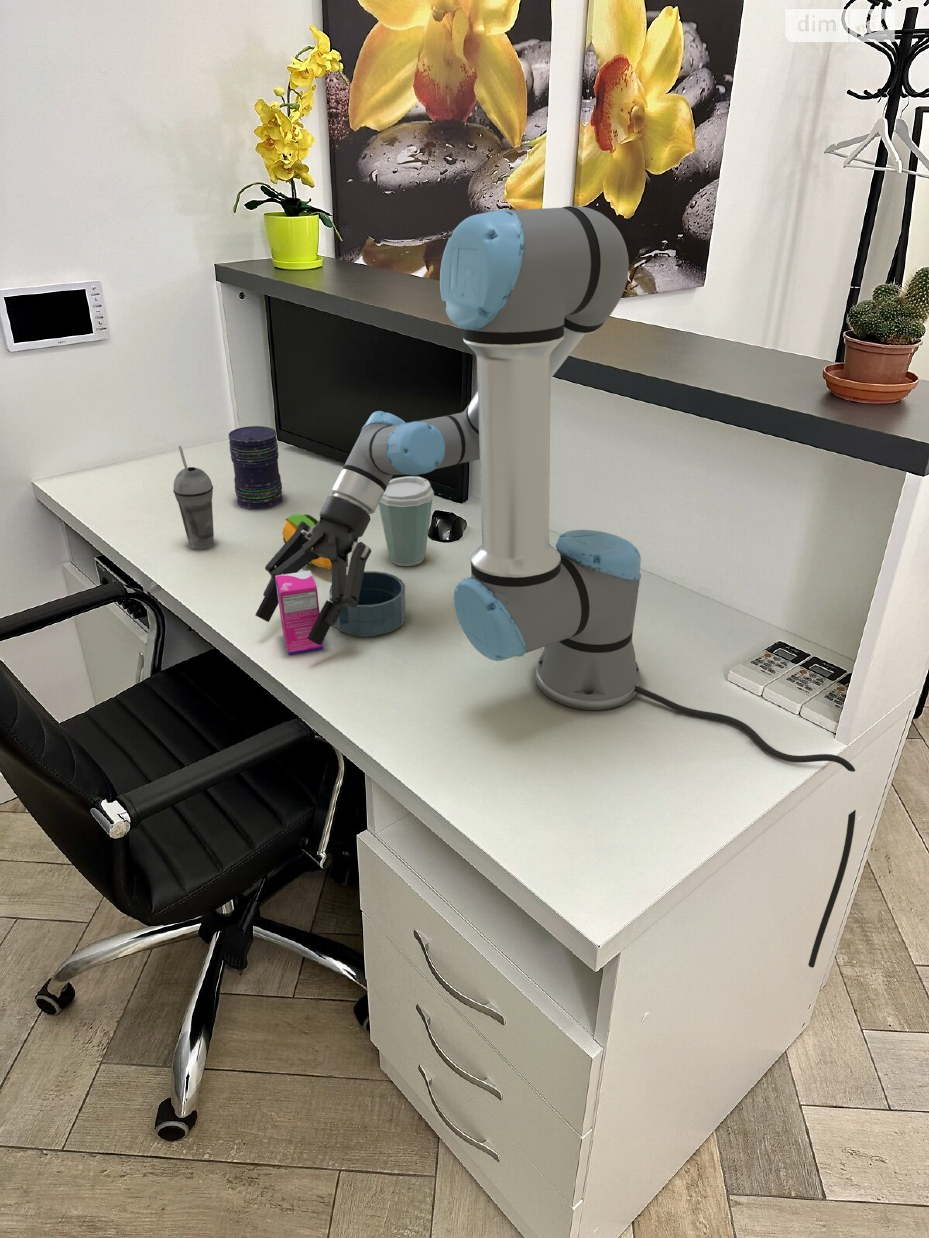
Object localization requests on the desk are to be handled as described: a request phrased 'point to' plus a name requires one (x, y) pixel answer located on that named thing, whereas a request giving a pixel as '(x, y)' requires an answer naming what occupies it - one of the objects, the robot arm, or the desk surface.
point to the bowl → (375, 606)
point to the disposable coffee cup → (406, 518)
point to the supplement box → (298, 610)
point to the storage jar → (256, 467)
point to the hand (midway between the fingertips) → (287, 630)
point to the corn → (290, 530)
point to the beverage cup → (195, 505)
